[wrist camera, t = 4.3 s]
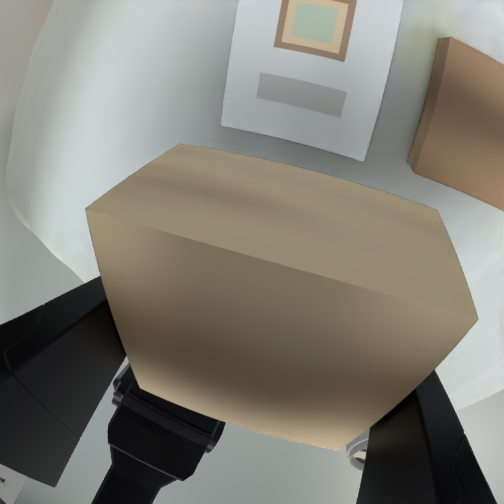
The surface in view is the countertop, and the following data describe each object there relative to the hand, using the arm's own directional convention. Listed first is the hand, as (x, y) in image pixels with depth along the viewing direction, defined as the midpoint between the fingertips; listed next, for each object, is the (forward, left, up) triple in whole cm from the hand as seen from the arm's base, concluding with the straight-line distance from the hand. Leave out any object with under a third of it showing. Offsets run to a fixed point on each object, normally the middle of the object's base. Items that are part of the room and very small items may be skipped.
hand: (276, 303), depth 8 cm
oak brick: (0, 0, -1) cm, 1 cm away
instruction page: (+7, +2, -12) cm, 14 cm away
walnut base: (+6, -9, -13) cm, 17 cm away
